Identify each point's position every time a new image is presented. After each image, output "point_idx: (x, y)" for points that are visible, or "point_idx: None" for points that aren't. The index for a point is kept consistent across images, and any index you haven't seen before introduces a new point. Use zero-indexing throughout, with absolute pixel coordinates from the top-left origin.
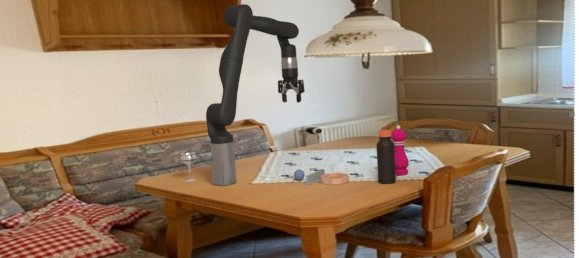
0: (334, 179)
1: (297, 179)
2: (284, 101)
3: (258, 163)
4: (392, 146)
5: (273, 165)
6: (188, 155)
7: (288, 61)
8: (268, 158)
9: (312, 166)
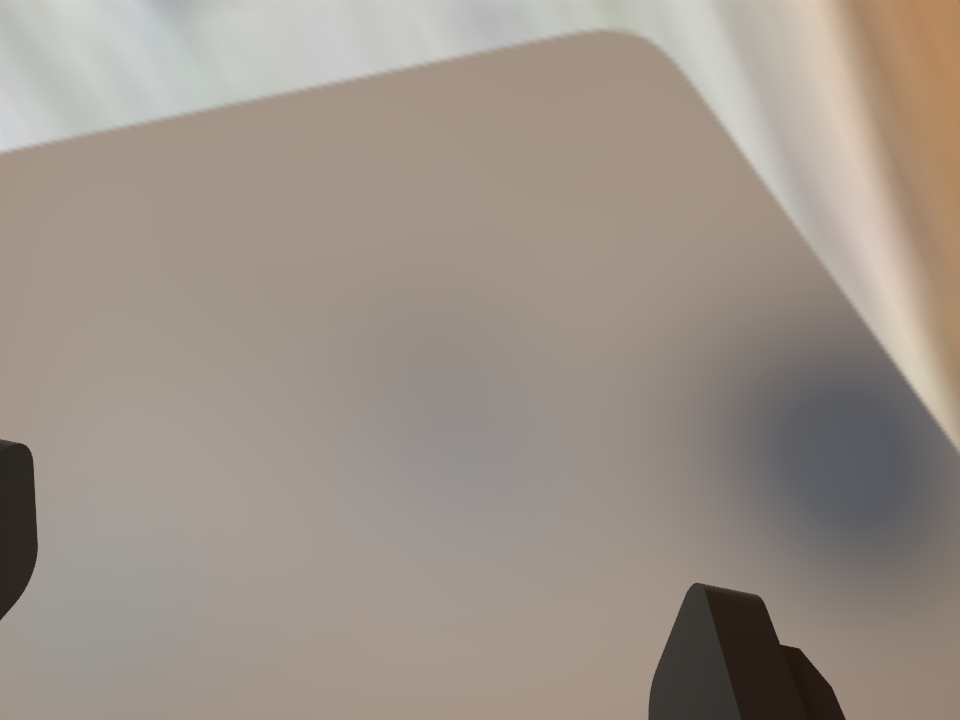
0: None
1: None
2: (693, 620)
3: (938, 103)
4: None
5: (702, 27)
6: None
7: None
8: (924, 375)
9: (246, 64)
